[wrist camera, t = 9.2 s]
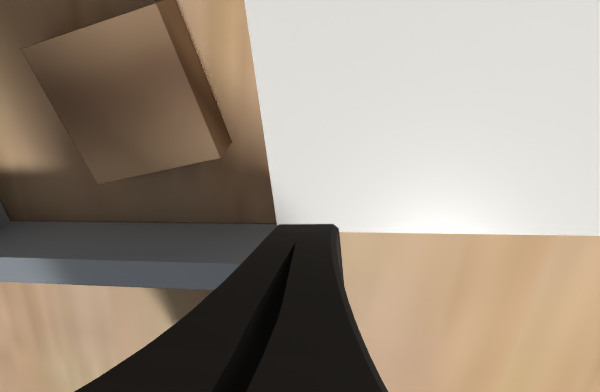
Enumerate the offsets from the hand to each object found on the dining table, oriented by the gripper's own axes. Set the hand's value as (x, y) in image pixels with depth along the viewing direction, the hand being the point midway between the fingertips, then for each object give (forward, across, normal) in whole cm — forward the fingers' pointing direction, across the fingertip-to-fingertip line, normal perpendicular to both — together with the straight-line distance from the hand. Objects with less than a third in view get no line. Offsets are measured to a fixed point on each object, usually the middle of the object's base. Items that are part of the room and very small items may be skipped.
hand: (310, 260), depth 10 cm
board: (+9, -5, -2) cm, 11 cm away
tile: (+10, +8, -1) cm, 13 cm away
